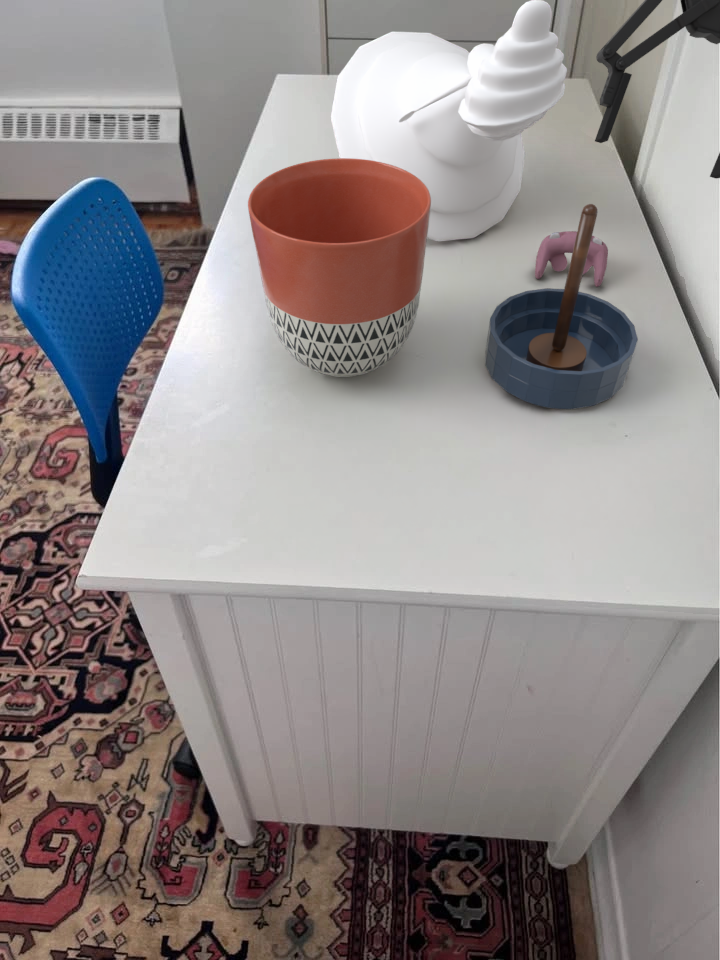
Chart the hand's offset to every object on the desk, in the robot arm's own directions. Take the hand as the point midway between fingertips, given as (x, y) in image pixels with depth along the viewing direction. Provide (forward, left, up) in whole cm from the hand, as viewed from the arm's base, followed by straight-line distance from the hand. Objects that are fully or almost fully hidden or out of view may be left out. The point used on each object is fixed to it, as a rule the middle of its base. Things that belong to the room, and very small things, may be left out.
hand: (659, 159), depth 79 cm
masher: (+1, +11, -22) cm, 25 cm away
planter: (+22, +27, -23) cm, 42 cm away
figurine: (+36, -11, -23) cm, 44 cm away
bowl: (+1, +11, -23) cm, 26 cm away
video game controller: (+11, -9, -23) cm, 27 cm away
